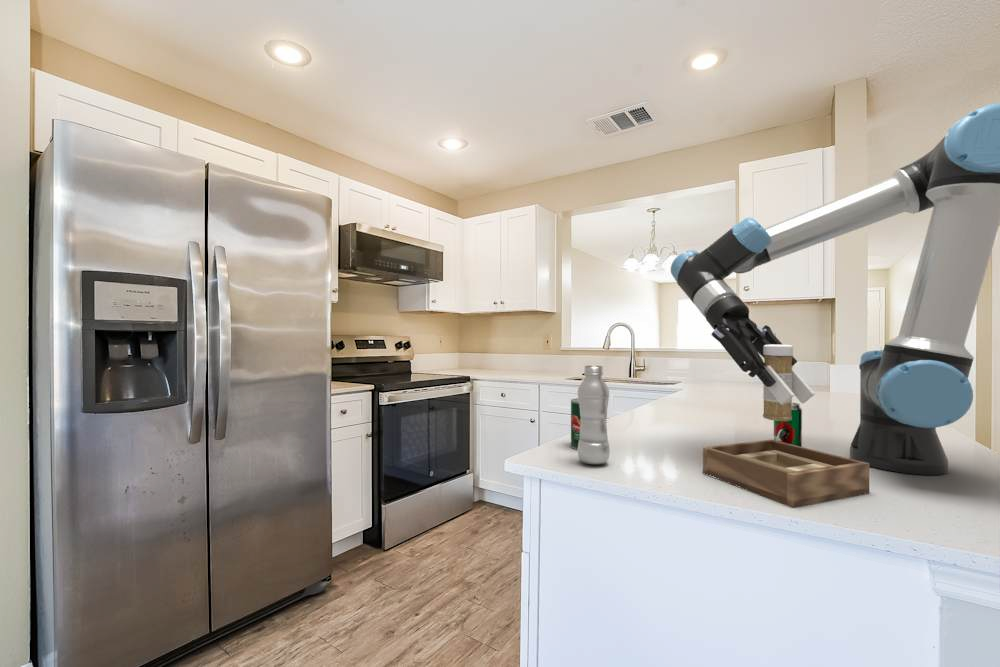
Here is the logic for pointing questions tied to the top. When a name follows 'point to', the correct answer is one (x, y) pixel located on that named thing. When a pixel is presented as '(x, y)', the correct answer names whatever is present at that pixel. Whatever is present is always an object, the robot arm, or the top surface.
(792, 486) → the socket tray
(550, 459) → the top surface
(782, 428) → the soda can
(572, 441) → the canned tomato
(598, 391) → the plastic bottle
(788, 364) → the sprinkles bottle
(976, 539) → the top surface
